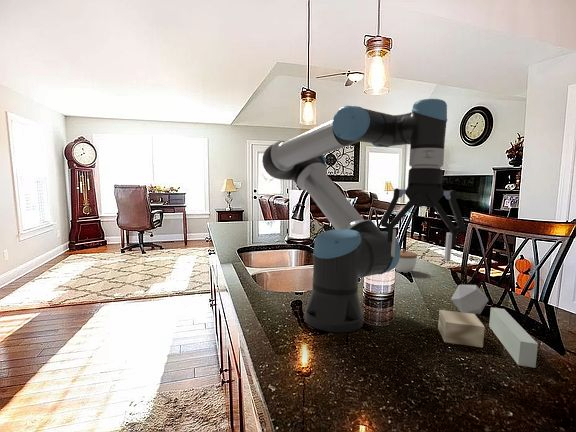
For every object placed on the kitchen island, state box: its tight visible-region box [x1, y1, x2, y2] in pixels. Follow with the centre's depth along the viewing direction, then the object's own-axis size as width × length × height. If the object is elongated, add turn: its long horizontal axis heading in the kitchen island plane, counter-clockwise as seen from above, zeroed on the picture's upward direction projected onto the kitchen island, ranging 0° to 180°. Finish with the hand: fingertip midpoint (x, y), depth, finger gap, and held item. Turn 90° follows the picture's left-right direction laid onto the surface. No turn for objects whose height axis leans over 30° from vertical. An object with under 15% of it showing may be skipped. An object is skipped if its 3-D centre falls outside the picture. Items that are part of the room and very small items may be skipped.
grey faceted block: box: [450, 284, 489, 315], centre depth 96 cm, size 8×9×10 cm
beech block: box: [437, 309, 486, 348], centre depth 79 cm, size 8×8×5 cm
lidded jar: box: [394, 248, 418, 274], centre depth 141 cm, size 11×11×9 cm
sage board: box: [488, 307, 539, 368], centre depth 76 cm, size 3×20×5 cm, turn 163°
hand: (419, 257), depth 81 cm, fingers open, 12 cm apart
